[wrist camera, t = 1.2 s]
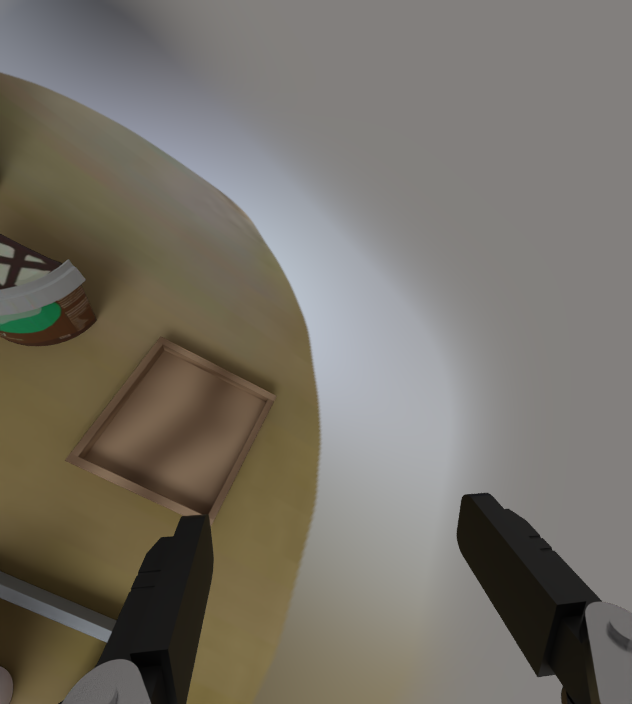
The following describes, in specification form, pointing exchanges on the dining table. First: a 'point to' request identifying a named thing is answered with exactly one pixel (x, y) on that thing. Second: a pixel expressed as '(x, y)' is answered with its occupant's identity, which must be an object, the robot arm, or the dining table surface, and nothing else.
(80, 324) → the food container
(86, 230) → the dining table surface
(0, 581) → the grey square frame
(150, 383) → the walnut tray
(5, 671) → the smoothie
